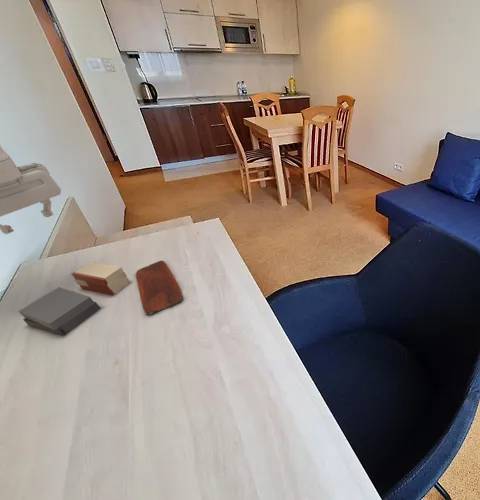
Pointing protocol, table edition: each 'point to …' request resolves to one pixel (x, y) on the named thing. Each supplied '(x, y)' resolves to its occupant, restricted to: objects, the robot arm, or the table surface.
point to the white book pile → (105, 289)
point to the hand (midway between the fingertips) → (30, 223)
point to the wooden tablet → (157, 287)
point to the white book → (98, 273)
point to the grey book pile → (59, 311)
